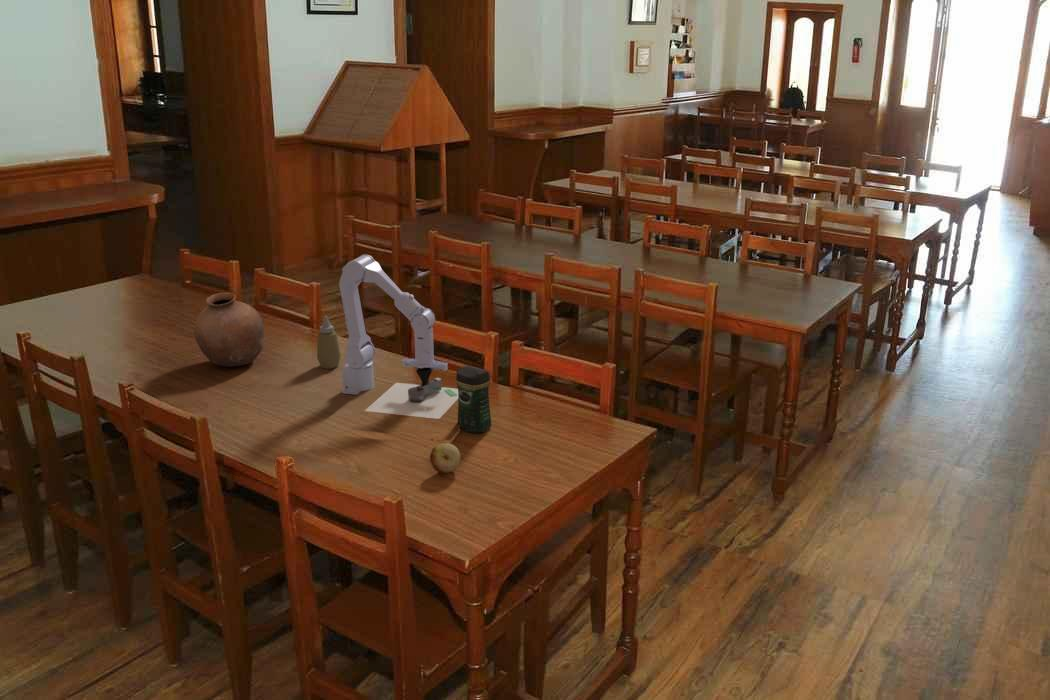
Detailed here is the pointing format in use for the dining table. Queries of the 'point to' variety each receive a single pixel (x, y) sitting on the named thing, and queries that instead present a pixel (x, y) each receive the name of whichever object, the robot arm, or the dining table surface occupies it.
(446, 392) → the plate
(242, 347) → the pottery
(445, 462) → the fruit
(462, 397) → the coffee jar
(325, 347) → the squeeze bottle
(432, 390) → the grey measuring scoop
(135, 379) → the dining table surface
